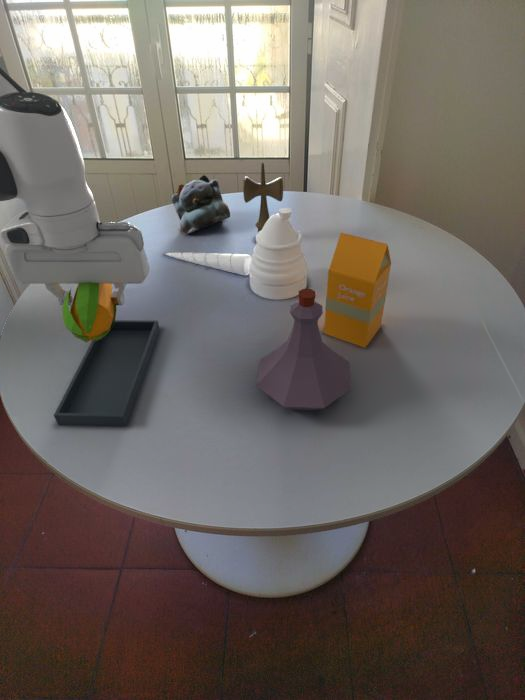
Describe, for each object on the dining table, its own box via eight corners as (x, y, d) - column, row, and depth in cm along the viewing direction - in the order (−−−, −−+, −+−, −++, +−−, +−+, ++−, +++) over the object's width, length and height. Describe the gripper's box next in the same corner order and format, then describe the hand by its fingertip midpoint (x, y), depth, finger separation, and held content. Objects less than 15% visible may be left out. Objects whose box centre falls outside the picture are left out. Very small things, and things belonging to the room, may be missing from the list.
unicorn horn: (174, 249, 120) (171, 231, 117) (255, 270, 111) (254, 252, 108) (163, 257, 117) (159, 239, 114) (244, 280, 108) (243, 261, 105)
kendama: (247, 235, 125) (243, 158, 112) (283, 235, 124) (283, 158, 112) (245, 246, 120) (241, 167, 107) (283, 246, 120) (283, 167, 107)
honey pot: (318, 282, 106) (322, 205, 95) (281, 307, 99) (281, 228, 88) (275, 264, 113) (274, 190, 102) (238, 286, 106) (232, 210, 94)
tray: (58, 426, 76) (53, 415, 74) (105, 330, 95) (102, 320, 93) (126, 427, 75) (122, 416, 73) (160, 330, 94) (158, 320, 93)
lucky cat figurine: (175, 238, 125) (158, 185, 121) (188, 235, 136) (172, 187, 133) (228, 221, 122) (211, 167, 118) (237, 220, 133) (222, 170, 129)
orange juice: (365, 349, 88) (379, 254, 75) (323, 334, 92) (329, 241, 79) (381, 327, 93) (396, 234, 80) (340, 314, 97) (349, 223, 84)
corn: (51, 315, 64) (68, 246, 79) (64, 357, 69) (78, 285, 84) (108, 310, 65) (113, 244, 80) (116, 352, 70) (120, 282, 85)
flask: (326, 351, 88) (334, 256, 75) (369, 413, 76) (387, 312, 63) (243, 372, 84) (235, 276, 71) (274, 440, 72) (272, 339, 59)
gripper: (144, 212, 68) (160, 292, 77) (8, 213, 69) (40, 292, 78) (133, 232, 63) (152, 315, 72) (-13, 233, 65) (23, 314, 73)
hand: (92, 303), depth 75 cm, fingers closed on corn, 7 cm apart
